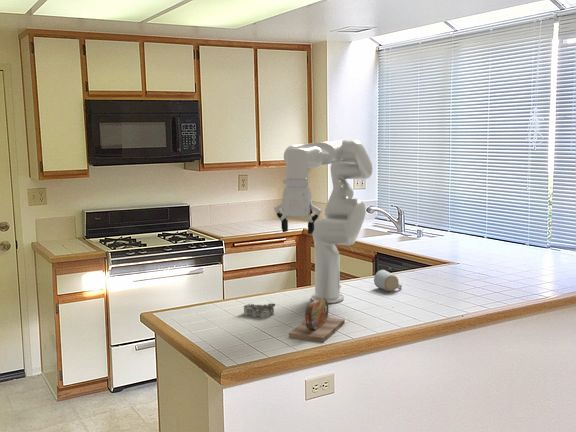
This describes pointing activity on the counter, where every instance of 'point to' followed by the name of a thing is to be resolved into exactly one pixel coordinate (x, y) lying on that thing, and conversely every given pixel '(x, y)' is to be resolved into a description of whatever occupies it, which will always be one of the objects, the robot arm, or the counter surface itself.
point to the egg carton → (259, 310)
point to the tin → (316, 313)
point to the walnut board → (320, 333)
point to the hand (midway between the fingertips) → (297, 232)
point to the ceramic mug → (386, 281)
